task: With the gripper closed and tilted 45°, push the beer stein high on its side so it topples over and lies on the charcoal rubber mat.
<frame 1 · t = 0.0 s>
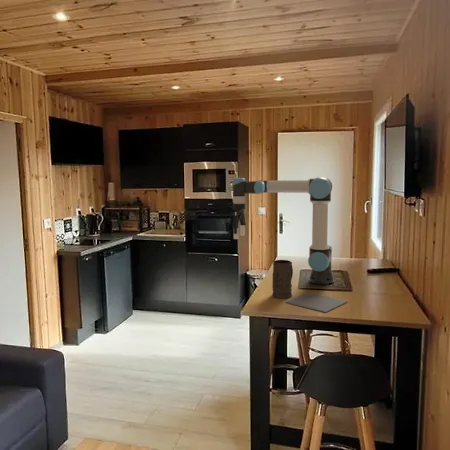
hand: (239, 237, 261), 28 cm above the table, tool pointing down, fingers open, 13 cm apart
beer stein: (283, 295, 235), on the table
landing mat: (316, 302, 220), on the table
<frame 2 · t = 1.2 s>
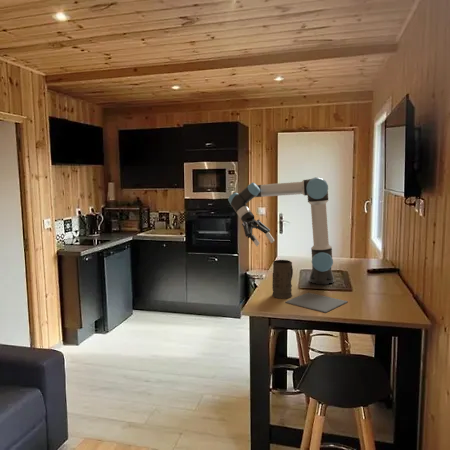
hand: (265, 243, 240), 28 cm above the table, tool tilted 45°, fingers open, 13 cm apart
nothing on the table moved.
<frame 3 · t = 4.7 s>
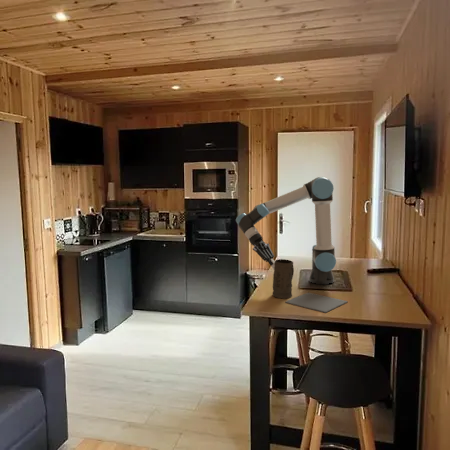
hand: (276, 269, 235), 14 cm above the table, tool tilted 45°, fingers closed
beer stein: (283, 294, 234), on the table, touching gripper
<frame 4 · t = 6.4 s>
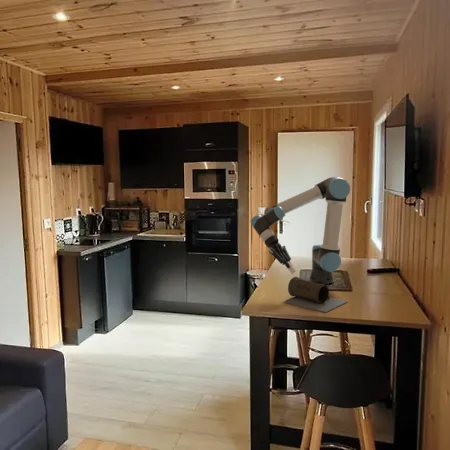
hand: (293, 272, 228), 14 cm above the table, tool tilted 45°, fingers closed
beer stein: (296, 286, 232), point 5 cm above the table, touching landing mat
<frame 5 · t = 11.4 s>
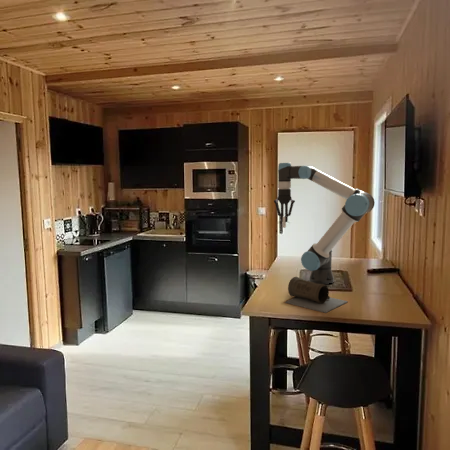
hand: (284, 227, 256), 34 cm above the table, tool pointing down, fingers closed
nothing on the table moved.
at the end: beer stein tilted 91°; beer stein touching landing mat; beer stein inside the target area (7.5 cm from its centre), point 5.1 cm above the table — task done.
